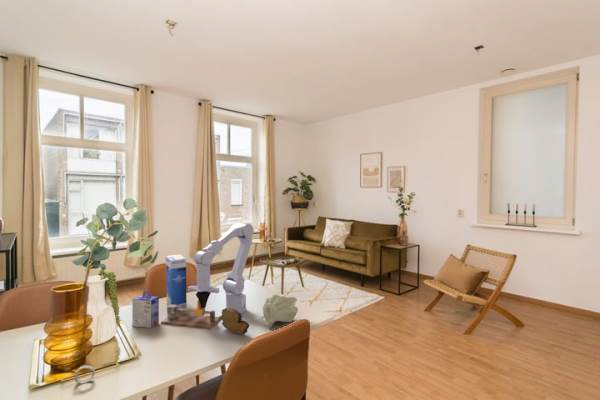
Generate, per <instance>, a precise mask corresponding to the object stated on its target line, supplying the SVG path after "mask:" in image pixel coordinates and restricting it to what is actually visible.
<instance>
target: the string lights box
mask: <svg viewBox="0 0 600 400" xmlns="http://www.w3.org/2000/svg"><path fill="white" fill-rule="evenodd" d="M165 281H166V282H165V284H166V285H165V286H166V287H165V288H166V305H167V306H166V307H168V306H169V305H171V304H172V305H177V307H178V308H179V309H188V308H187V305H188V303H187V259H186V258H185V257H184V256H183V255H181V254H179V253H178V254H173V255H170V254H169V255H166V256H165Z"/></svg>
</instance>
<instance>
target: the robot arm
mask: <svg viewBox="0 0 600 400" xmlns="http://www.w3.org/2000/svg"><path fill="white" fill-rule="evenodd" d="M254 232H255V229H254V226H253V225H252V224H251V223H245V222H239V221H237V222H234V224H232V225H231V226H230V227H229V229H228V230H227V231H226V232H225V233H224V234H223V235H222V236H221V237H220V238H219V239H218V240H217V239H214V240H211V241H210V243H209V244H208V245H207V246H206V247H204V248H203V249H202V250H199V251H197V252H196V254H195V255H194V257H193V261H194V263H195V266H196V285H189V286H187V292H196V293H195V296H196V298H197V299H198V300H199V302H200V305H201V308H205V309H206V307H207V302H208V300H209V298H210V295H211V293H213V294H219V293H220V287H217V286H212V285H211V264H212V262H213V259H214V258H215V256H217V255H218V254H219V253H220V252H221V251H222V250H223V249H224V245H226V244H227V243H229V241H231V240H232V239H234V238H235V237H237V239H238V240H239V242H240V244H239V246H238V247H239V248H238V249H237V254H236V256H235V260H234V263H233V267H232V269H231V272H230V273H228V274H227V275H226V278H225V279H224V281H223V283H222V289H223V290H224V293H225V308H227V309H228V308H233V309H235V310H236V311H238V312H240V313H241V315H243V313H244V312H245V311H246V310H247V295H246V294H245V293H243V291H244V289H245V281H246V279H245V277H244V276H243V273H244V270H245V267H246V264H247V260H248V258H249V253H250V250H251V246H252V243H253V235H254ZM198 300H197V301H198Z"/></svg>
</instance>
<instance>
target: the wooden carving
mask: <svg viewBox="0 0 600 400" xmlns="http://www.w3.org/2000/svg"><path fill="white" fill-rule="evenodd" d="M218 317H219V318H220V321H222V322H221V325H222V326H223V327H224V328H225V329H226V330H227V331H228V332H230V333H232V334H238V333H239V334H240V335H242V336H244V335H246V333H248V331H249V327H250V324H249V322H248V321H246V320H244V319H243V320H242V318H243V315H242V314H241V313H240V312H238V311H236V310H235V309H233V308H228V309H227V308H226V307H225V308H223V309H222V310H221V315H220V316H218Z"/></svg>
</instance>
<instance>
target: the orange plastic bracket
mask: <svg viewBox="0 0 600 400" xmlns="http://www.w3.org/2000/svg"><path fill="white" fill-rule="evenodd" d="M193 310H194V312H193V315H194V316H205V315H206V313H203V311H206V307H205V308H201V305H200V302H199V300H196V307H195V308H194V309H193Z"/></svg>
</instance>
